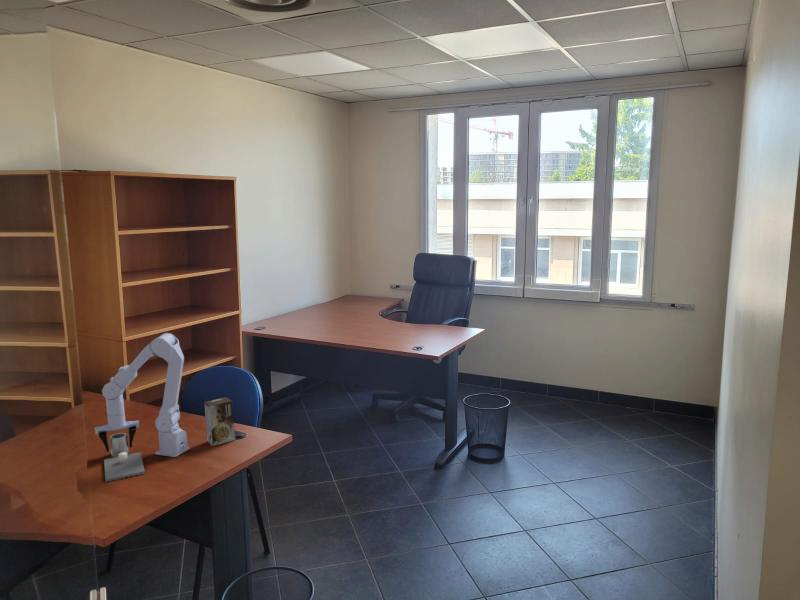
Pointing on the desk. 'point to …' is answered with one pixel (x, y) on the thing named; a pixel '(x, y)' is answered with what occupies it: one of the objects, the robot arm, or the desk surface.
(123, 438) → the collar
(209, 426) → the coffee box
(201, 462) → the desk surface
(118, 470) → the duct board
